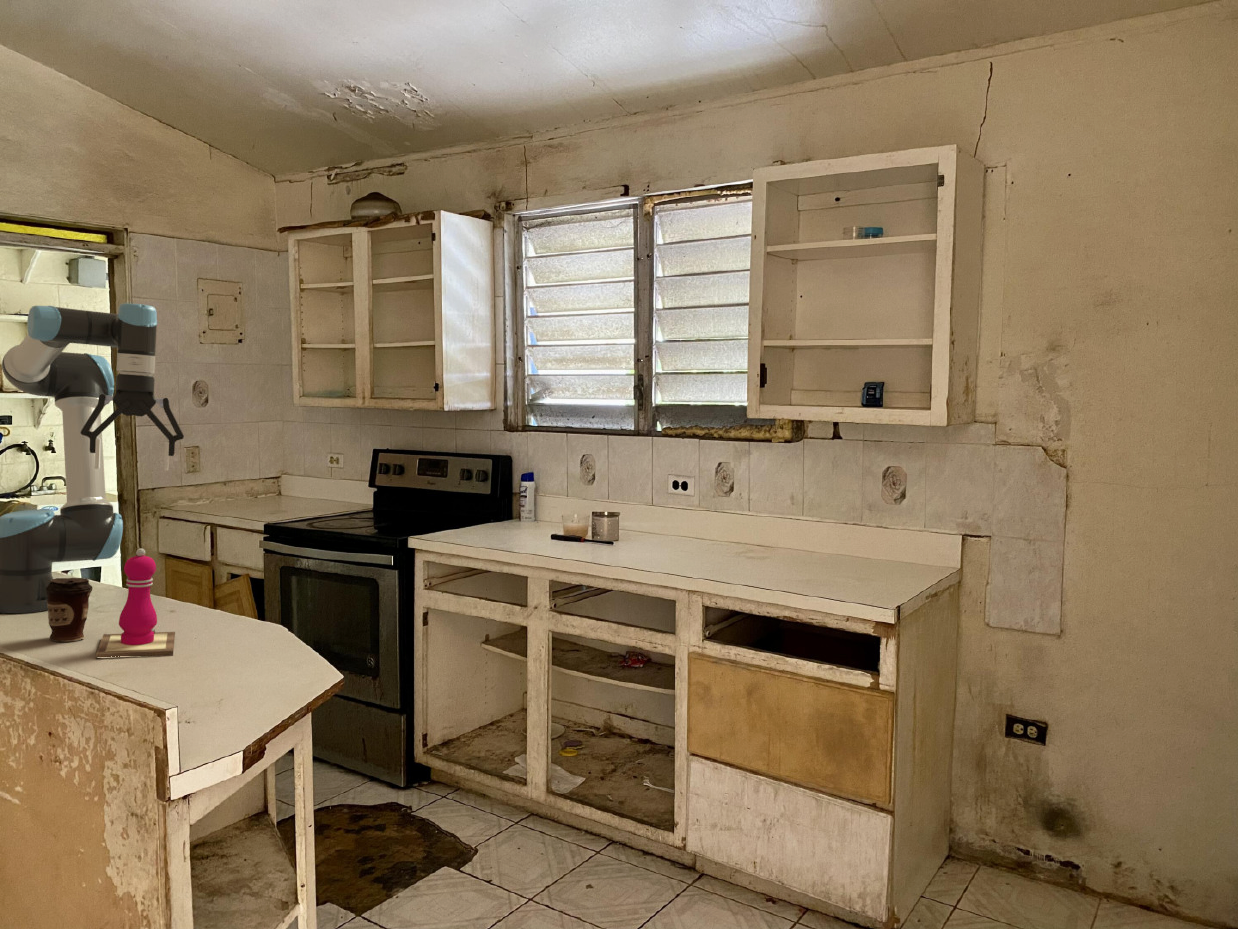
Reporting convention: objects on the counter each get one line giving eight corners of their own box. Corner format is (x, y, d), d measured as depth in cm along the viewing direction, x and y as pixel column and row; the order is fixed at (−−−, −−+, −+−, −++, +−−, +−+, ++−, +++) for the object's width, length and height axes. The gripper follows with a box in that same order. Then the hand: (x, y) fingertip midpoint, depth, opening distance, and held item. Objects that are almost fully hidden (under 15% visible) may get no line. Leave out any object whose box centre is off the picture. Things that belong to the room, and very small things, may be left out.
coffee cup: (67, 646, 191) (69, 585, 190) (33, 641, 193) (35, 581, 192) (98, 636, 200) (100, 578, 199) (66, 632, 201) (68, 574, 201)
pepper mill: (164, 640, 196) (167, 548, 195) (136, 647, 189) (140, 552, 188) (138, 635, 199) (141, 544, 197) (110, 642, 192) (113, 548, 191)
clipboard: (103, 638, 198) (103, 630, 198) (174, 636, 204) (175, 628, 204) (95, 659, 184) (96, 650, 184) (173, 655, 190) (173, 646, 190)
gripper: (68, 369, 193) (65, 468, 195) (197, 378, 204) (193, 472, 205) (72, 369, 200) (69, 465, 202) (197, 378, 211) (193, 469, 212)
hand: (132, 469), depth 203 cm, fingers open, 13 cm apart
